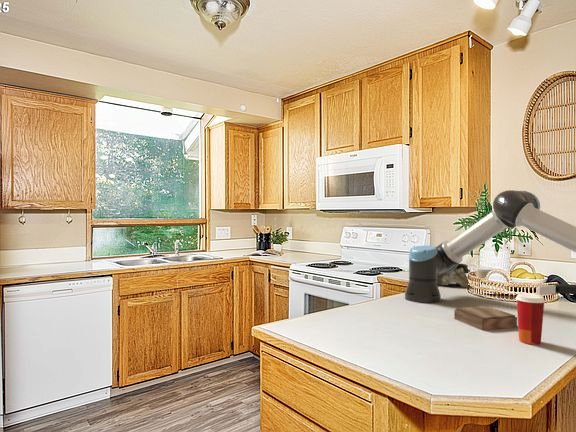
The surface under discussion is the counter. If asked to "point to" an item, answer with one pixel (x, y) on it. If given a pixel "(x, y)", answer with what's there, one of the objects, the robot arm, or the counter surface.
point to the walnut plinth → (485, 318)
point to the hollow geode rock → (454, 276)
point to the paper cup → (530, 318)
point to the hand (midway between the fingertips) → (557, 294)
